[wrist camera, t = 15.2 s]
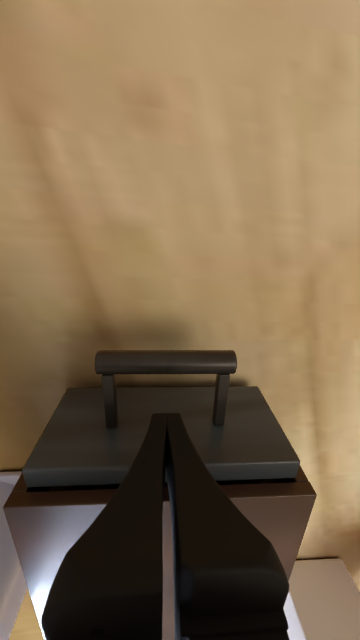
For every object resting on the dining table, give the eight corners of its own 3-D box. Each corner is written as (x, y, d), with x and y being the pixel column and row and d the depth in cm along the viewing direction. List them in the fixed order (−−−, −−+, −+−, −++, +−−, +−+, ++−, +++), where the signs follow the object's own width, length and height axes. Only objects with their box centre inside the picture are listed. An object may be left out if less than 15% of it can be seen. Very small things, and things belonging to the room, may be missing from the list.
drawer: (58, 324, 16) (-1, 384, 10) (268, 326, 17) (323, 382, 11) (85, 510, 22) (57, 613, 16) (237, 503, 23) (263, 599, 17)
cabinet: (64, 394, 19) (1, 507, 11) (259, 392, 20) (317, 494, 12) (83, 516, 24) (47, 652, 16) (239, 510, 25) (271, 634, 17)
